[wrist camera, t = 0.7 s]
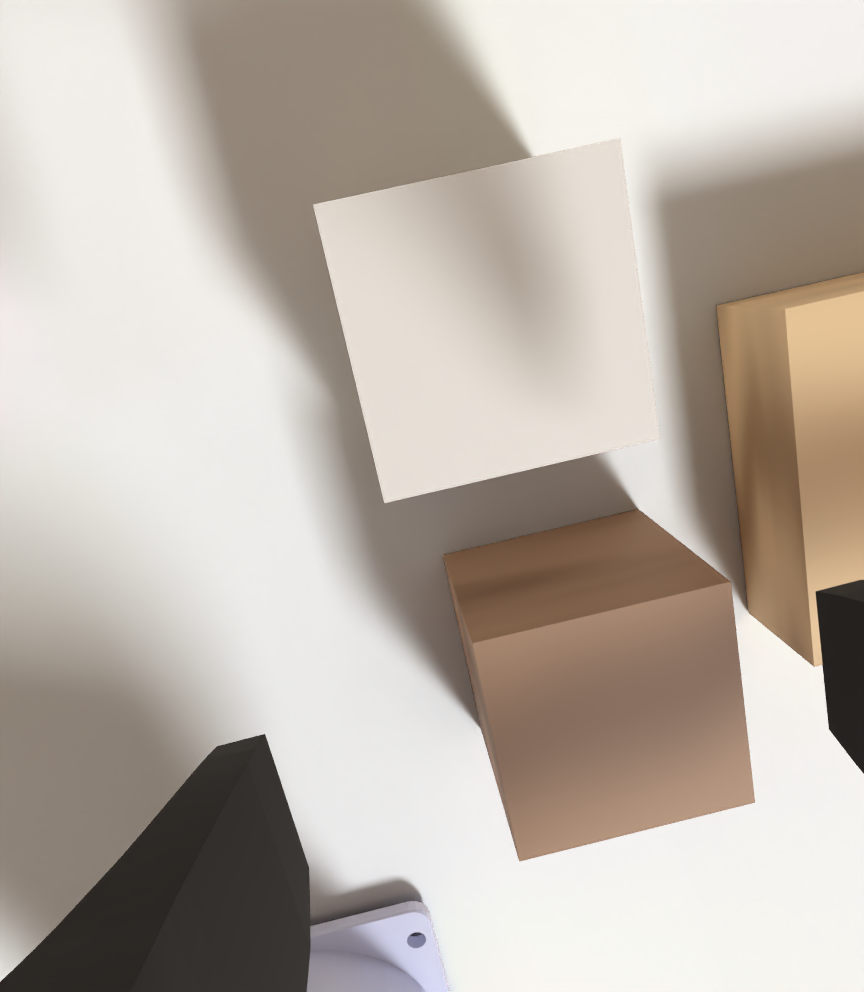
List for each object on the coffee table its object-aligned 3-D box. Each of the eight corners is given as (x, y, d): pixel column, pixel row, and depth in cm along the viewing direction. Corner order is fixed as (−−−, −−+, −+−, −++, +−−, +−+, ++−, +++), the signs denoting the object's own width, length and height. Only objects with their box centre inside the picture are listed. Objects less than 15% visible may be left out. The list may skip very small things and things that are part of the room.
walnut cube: (661, 682, 21) (754, 802, 16) (480, 726, 21) (519, 861, 16) (637, 508, 19) (730, 581, 15) (442, 553, 19) (472, 643, 14)
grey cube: (580, 400, 19) (659, 439, 14) (375, 446, 18) (384, 503, 14) (544, 179, 17) (620, 138, 12) (323, 227, 17) (312, 204, 12)
